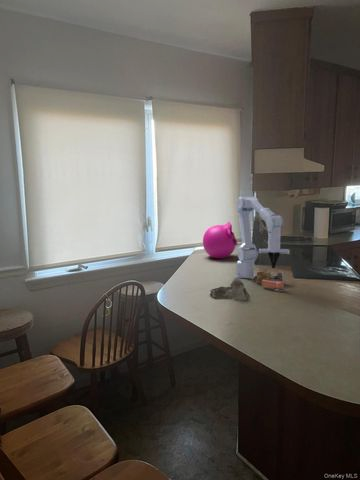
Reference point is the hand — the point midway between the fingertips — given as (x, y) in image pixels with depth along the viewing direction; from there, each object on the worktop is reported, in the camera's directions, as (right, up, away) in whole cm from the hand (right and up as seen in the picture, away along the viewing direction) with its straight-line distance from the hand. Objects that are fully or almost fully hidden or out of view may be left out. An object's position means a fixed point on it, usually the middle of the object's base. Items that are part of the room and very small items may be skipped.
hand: (273, 267), depth 172 cm
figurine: (-18, +1, +73) cm, 75 cm away
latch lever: (-1, -9, -3) cm, 10 cm away
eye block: (-2, -8, +10) cm, 13 cm away
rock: (-23, -13, -12) cm, 29 cm away
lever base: (+2, -11, -4) cm, 12 cm away
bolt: (+1, -8, +8) cm, 12 cm away
